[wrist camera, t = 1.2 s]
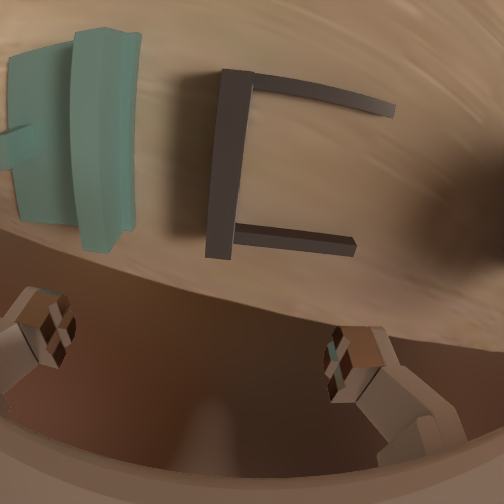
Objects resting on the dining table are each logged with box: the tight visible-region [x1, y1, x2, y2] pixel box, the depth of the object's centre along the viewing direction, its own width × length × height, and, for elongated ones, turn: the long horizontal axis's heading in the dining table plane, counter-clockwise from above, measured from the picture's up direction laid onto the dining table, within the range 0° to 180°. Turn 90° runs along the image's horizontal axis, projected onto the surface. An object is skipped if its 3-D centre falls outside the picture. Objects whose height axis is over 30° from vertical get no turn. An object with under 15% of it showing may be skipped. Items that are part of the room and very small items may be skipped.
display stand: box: [0, 27, 142, 254], centre depth 19 cm, size 17×14×5 cm
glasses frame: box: [205, 69, 396, 260], centre depth 22 cm, size 14×13×4 cm
